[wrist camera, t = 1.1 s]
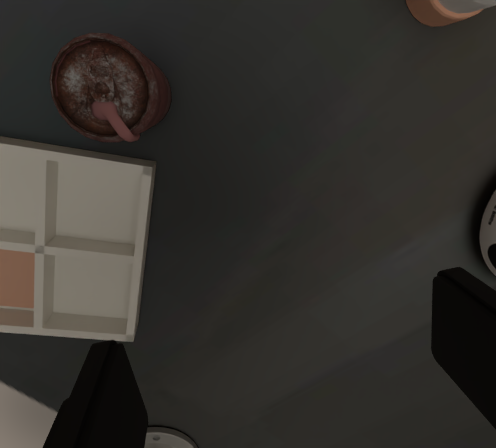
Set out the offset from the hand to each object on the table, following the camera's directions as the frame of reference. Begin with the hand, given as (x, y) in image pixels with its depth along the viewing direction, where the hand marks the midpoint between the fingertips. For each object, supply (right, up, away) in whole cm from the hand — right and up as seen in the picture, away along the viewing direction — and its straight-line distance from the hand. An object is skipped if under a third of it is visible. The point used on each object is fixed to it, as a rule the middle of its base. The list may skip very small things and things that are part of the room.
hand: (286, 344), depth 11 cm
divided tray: (-21, +2, +26) cm, 34 cm away
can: (-11, +16, +23) cm, 30 cm away
